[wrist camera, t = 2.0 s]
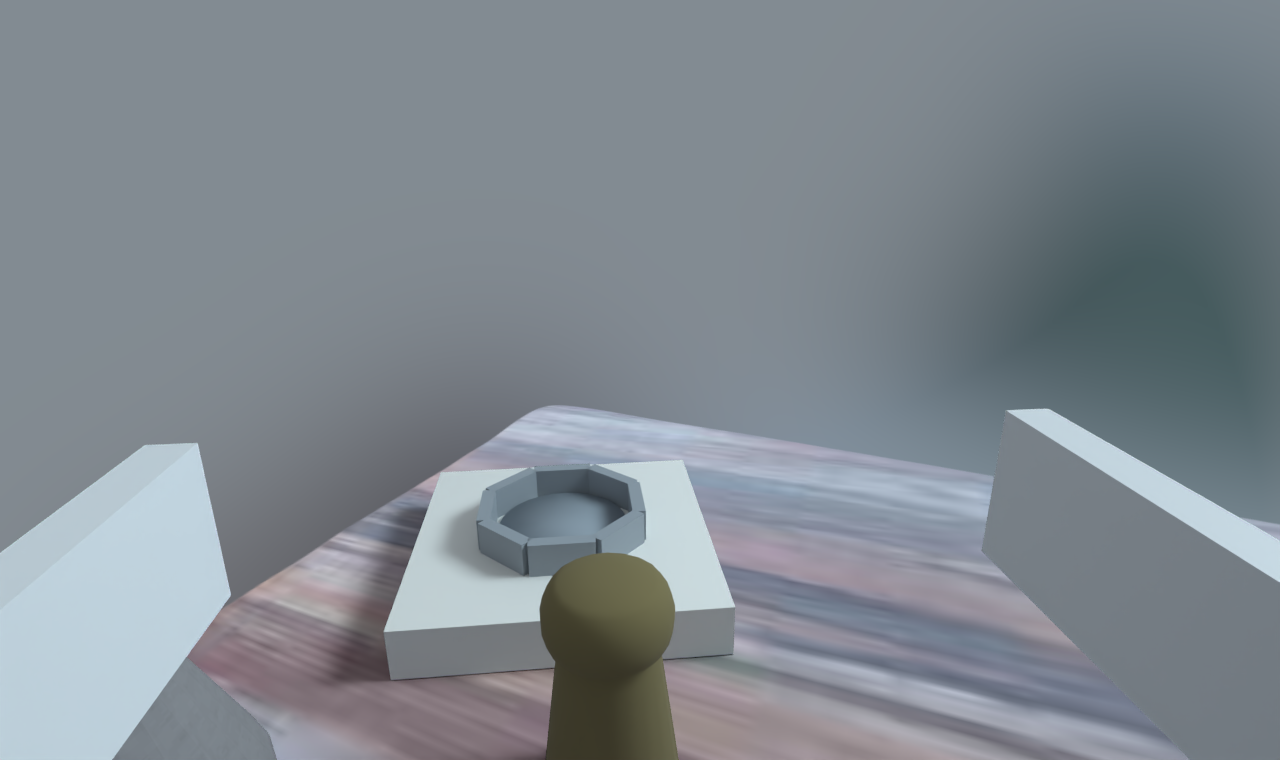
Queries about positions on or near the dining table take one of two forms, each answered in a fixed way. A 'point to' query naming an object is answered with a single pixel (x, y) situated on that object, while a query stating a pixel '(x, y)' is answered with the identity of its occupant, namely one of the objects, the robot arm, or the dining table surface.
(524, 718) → the dining table surface
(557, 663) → the cork
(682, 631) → the base plate
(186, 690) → the coffee pot
